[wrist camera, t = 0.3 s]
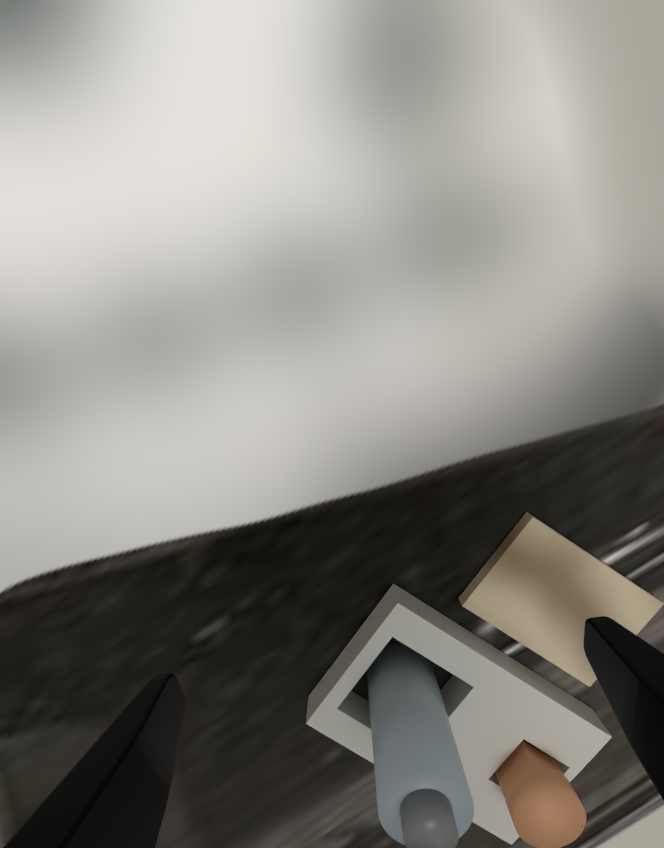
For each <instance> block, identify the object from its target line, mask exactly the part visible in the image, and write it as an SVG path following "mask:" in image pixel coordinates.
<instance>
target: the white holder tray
mask: <svg viewBox="0 0 664 848" xmlns="http://www.w3.org/2000/svg"><path fill="white" fill-rule="evenodd" d="M392 637H393V638H395V639H397V640H398V641H400V642H402V643H403V644H405V645H406V646H408V647H410V648H411V649H413V650H414V651H416V652H418V653H419V654H421V655H423V656H424V657H426V658H427V659H429V660H431V661H432V662H434V663H435V664H437V665H439V666H440V667H442V668H444V669H445V670H447V671H448V672H450V673H452V674H453V675H452V677H451V678H450V679H449V680H448V682H447V683H446V684H445V685H444V686H443V688H442V689H441V690H440V692H441V696H442V699H443V702H444V706H445V709H446V712H447V716H448V719H449V722H450V726H451V729H452V732H453V736H454V739H455V742H456V746H457V749H458V752H459V756H460V759H461V762H462V766H463V769H464V772H465V775H466V779H467V782H468V785H469V789H470V792H471V795H472V799H473V803H474V816H473V820H472V822H474V823H475V824H477V825H479V826H480V827H482V828H484V829H485V830H487V831H489V832H490V833H492V834H494V835H496V836H497V837H499V838H501V839H502V840H504V841H506V842H507V843H509V844H511V845H512V844H513V843H514V842H515V841H516V840H517V839H518V838H519V835H518V833H517V831H516V829H515V826H514V824H513V821H512V818H511V816H510V813H509V810H508V808H507V805H506V800H505V797H504V795H503V792H502V789H501V787H500V784H499V781H498V779H497V776H496V773H495V771H496V770H497V769H498V768H499V767H500V765H501V764H502V763H503V762H504V761H505V760H506V759H507V758H508V756H509V755H510V754H511V753H512V752H513V751H514V750H515V749H516V747H517V746H518V745H519V744H520V743H521V742H522V741H523V739H524V740H526V741H527V742H529V743H531V744H532V745H534V746H535V747H537V748H539V749H540V751H541V752H543V753H544V754H546V755H548V756H549V757H551V758H553V759H554V760H556V761H557V763H558V765H559V767H560V769H561V771H562V772H563V774H564V776H565V777H566V778H567V779H568V780H569V782H571V781H572V780H573V779H574V777H575V776H576V775H577V774H578V773H579V772H580V771H581V770H582V769H583V768H584V767H585V766H586V765H587V764H588V762H589V761H590V760H591V759H592V758H593V757H594V756H595V755H596V754H597V753H598V752H599V751H600V750H601V749H602V747H603V746H604V745H605V744H606V743H607V742H608V741H609V740H610V739H611V738H612V736H611V735H610V733H609V732H608V731H607V729H606V728H605V727H604V725H603V724H602V722H601V721H600V720H599V718H598V717H597V715H596V714H595V713H594V711H593V710H592V709H591V708H590V707H589V706H587V705H585V704H584V703H582V702H581V701H579V700H577V699H576V698H574V697H573V696H571V695H570V694H568V693H566V692H565V691H563V690H562V689H560V688H558V687H557V686H555V685H554V684H552V683H550V682H549V681H547V680H546V679H544V678H543V677H541V676H539V675H538V674H536V673H535V672H533V671H531V670H530V669H528V668H527V667H525V666H523V665H522V664H520V663H519V662H517V661H516V660H514V659H512V658H511V657H509V656H508V655H506V654H504V653H503V652H501V651H500V650H498V649H496V648H495V647H493V646H492V645H490V644H489V643H487V642H485V641H484V640H482V639H481V638H479V637H477V636H476V635H474V634H473V633H471V632H469V631H468V630H466V629H465V628H463V627H462V626H460V625H458V624H457V623H455V622H454V621H452V620H450V619H449V618H447V617H446V616H444V615H443V614H441V613H439V612H438V611H436V610H435V609H433V608H431V607H430V606H428V605H427V604H425V603H423V602H422V601H420V600H419V599H417V598H416V597H414V596H412V595H411V594H409V593H408V592H406V591H404V590H403V589H401V588H400V587H398V586H396V585H395V584H393V585H392V586H391V587H390V589H389V590H388V591H387V593H386V594H385V595H384V597H383V598H382V599H381V601H380V602H379V603H378V605H377V606H376V607H375V609H374V610H373V611H372V613H371V614H370V615H369V617H368V618H367V619H366V621H365V622H364V623H363V625H362V626H361V627H360V629H359V630H358V631H357V633H356V634H355V635H354V637H353V638H352V639H351V641H350V642H349V643H348V644H347V646H346V647H345V648H344V650H343V651H342V652H341V654H340V655H339V656H338V658H337V659H336V660H335V662H334V663H333V664H332V666H331V667H330V668H329V670H328V671H327V672H326V674H325V675H324V676H323V678H322V679H321V680H320V682H319V683H318V684H317V686H316V687H315V688H314V690H313V691H312V692H311V694H310V695H309V697H308V707H307V717H306V724H307V725H309V726H311V727H312V728H314V729H316V730H317V731H319V732H321V733H323V734H324V735H326V736H328V737H329V738H331V739H333V740H334V741H336V742H338V743H339V744H341V745H343V746H345V747H346V748H348V749H350V750H351V751H353V752H355V753H356V754H358V755H360V756H362V757H363V758H365V759H367V760H368V761H370V762H372V763H373V764H374V758H373V745H372V733H371V721H370V708H369V701H368V700H366V699H364V698H363V697H361V696H359V695H358V694H356V693H354V692H353V691H351V690H352V689H353V687H354V686H355V685H356V683H357V682H358V681H359V679H360V678H361V677H362V676H363V674H364V673H365V672H366V670H367V669H368V668H369V667H370V665H371V664H372V663H373V661H374V660H375V659H376V657H377V656H378V655H379V654H380V652H381V651H382V650H383V648H384V647H385V646H386V645H387V643H388V642H389V641H390V639H391V638H392Z"/></svg>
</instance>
